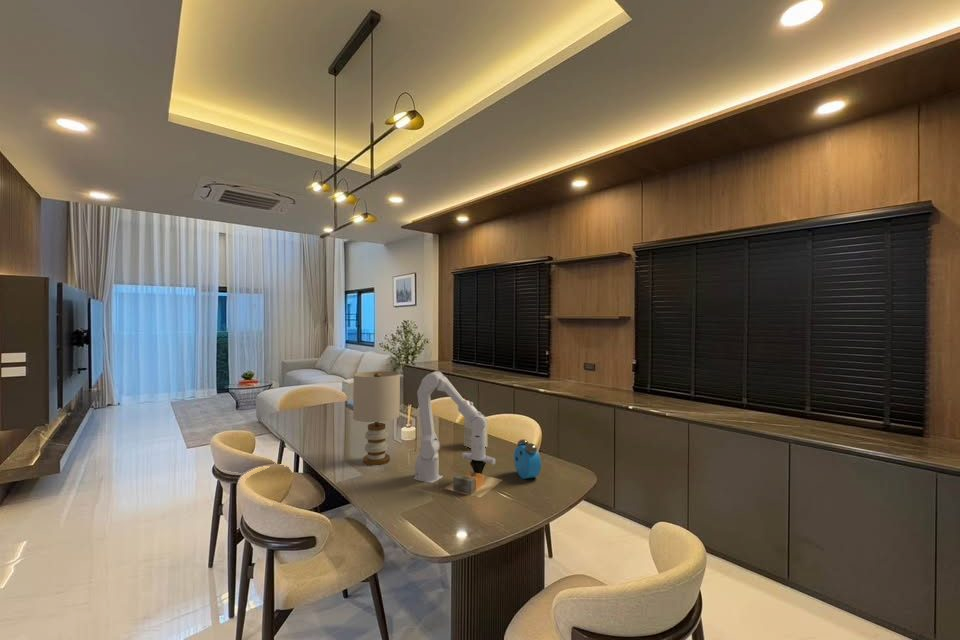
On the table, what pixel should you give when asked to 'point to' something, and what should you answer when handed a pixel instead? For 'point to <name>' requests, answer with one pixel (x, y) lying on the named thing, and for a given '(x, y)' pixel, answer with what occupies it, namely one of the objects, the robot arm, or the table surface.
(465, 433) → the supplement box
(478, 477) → the lock
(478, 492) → the dock
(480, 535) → the table surface
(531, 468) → the alarm clock
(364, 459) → the lamp
